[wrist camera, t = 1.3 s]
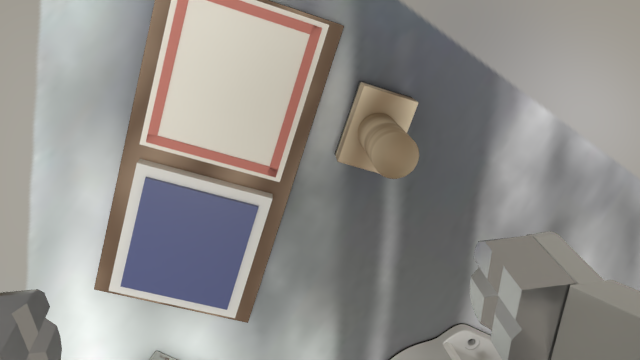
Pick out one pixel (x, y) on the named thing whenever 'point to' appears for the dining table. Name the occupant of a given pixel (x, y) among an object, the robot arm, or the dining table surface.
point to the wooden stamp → (379, 132)
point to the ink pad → (188, 239)
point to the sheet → (232, 83)
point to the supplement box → (161, 356)
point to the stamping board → (137, 151)
